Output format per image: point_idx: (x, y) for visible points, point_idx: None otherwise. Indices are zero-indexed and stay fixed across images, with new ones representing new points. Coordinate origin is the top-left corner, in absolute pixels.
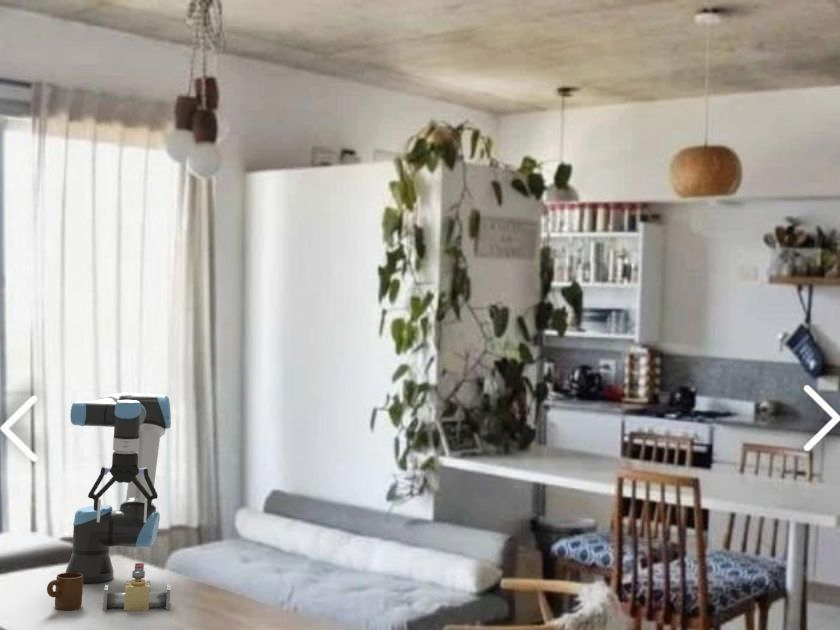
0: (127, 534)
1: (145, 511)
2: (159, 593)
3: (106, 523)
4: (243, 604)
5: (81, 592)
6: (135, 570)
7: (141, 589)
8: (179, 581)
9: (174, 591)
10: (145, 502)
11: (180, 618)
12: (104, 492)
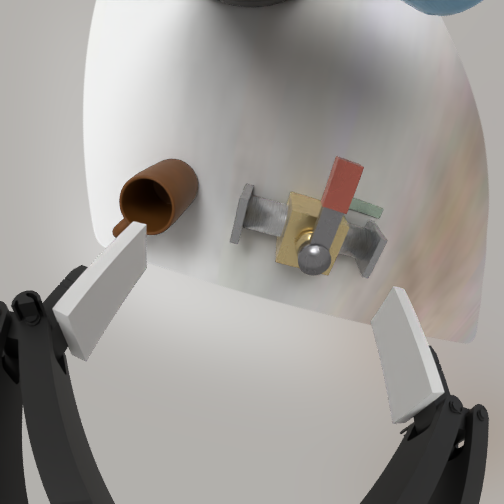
0: None
1: (388, 368)
2: (352, 252)
3: None
4: (467, 261)
5: (186, 207)
6: (314, 235)
7: None
8: (445, 63)
9: (418, 131)
10: (395, 416)
11: (352, 302)
12: (80, 421)
